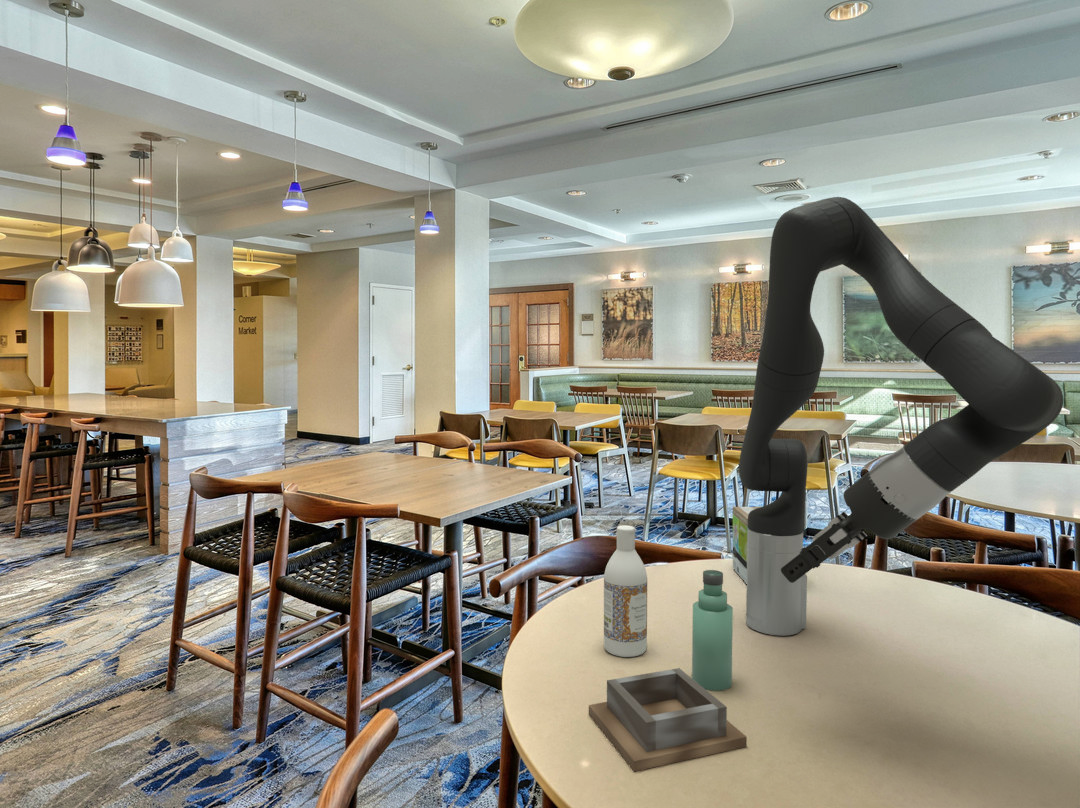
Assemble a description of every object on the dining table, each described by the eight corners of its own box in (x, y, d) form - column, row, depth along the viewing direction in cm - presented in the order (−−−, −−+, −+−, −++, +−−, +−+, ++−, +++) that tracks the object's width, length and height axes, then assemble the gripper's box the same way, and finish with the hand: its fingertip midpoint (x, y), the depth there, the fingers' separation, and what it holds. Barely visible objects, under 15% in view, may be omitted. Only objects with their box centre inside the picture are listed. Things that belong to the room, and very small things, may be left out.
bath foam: (622, 662, 100) (623, 534, 99) (595, 646, 106) (595, 525, 105) (655, 651, 104) (656, 528, 103) (627, 636, 110) (627, 520, 109)
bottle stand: (688, 695, 90) (688, 662, 90) (746, 746, 78) (747, 708, 77) (588, 713, 85) (588, 678, 85) (634, 771, 73) (634, 730, 73)
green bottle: (717, 670, 98) (718, 565, 97) (739, 687, 92) (741, 576, 92) (684, 675, 96) (685, 569, 95) (706, 693, 91) (707, 580, 90)
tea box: (730, 569, 148) (731, 504, 147) (775, 569, 147) (776, 505, 147) (749, 591, 133) (751, 520, 132) (799, 592, 132) (800, 520, 132)
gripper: (884, 462, 85) (793, 535, 93) (858, 475, 74) (757, 557, 82) (929, 507, 82) (832, 579, 90) (909, 528, 71) (800, 607, 79)
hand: (796, 568), depth 86 cm, fingers open, 8 cm apart
